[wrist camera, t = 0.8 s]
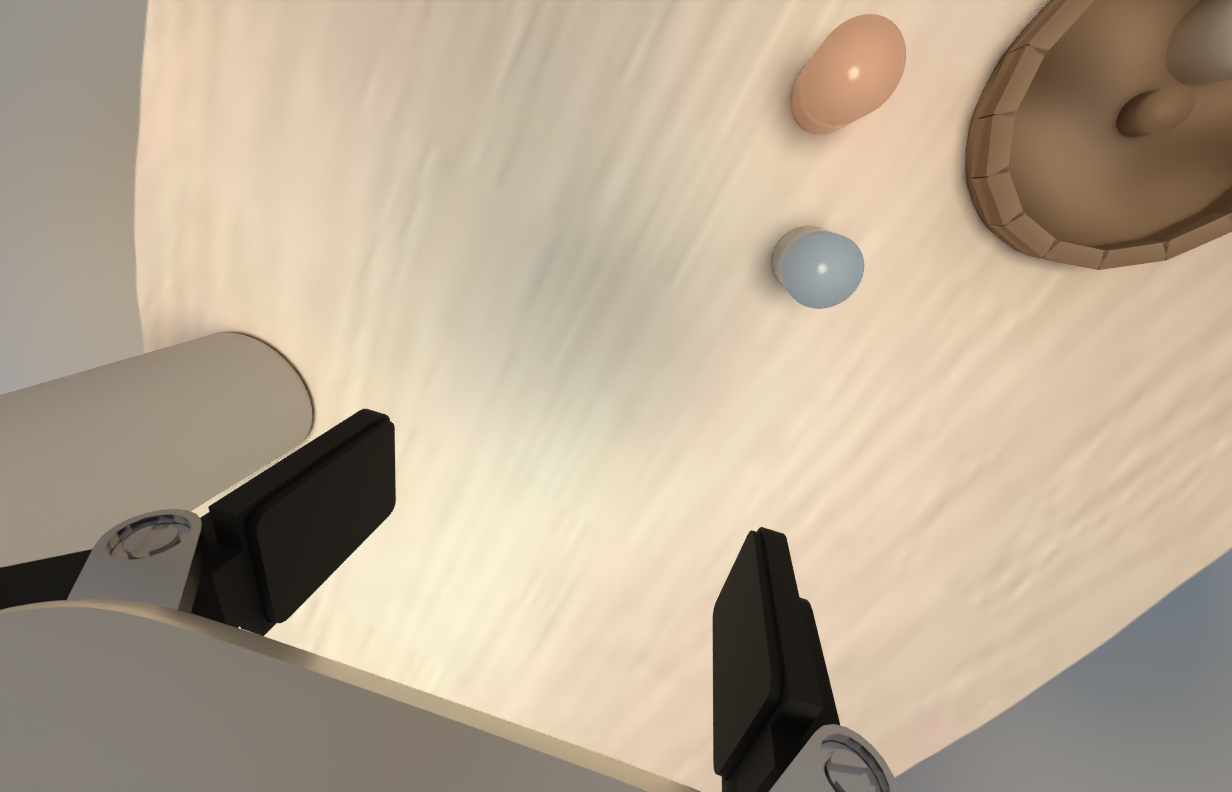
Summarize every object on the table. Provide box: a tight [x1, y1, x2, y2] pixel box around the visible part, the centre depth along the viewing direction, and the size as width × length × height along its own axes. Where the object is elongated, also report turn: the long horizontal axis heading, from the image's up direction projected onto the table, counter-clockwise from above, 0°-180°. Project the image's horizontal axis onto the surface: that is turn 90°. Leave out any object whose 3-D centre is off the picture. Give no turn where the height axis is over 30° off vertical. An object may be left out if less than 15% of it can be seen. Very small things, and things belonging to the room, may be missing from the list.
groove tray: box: [966, 0, 1232, 270], centre depth 23 cm, size 15×15×2 cm
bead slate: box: [772, 226, 864, 309], centre depth 27 cm, size 4×4×6 cm
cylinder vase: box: [0, 333, 312, 567], centre depth 33 cm, size 12×12×25 cm
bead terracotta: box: [791, 14, 906, 134], centre depth 23 cm, size 4×4×6 cm
